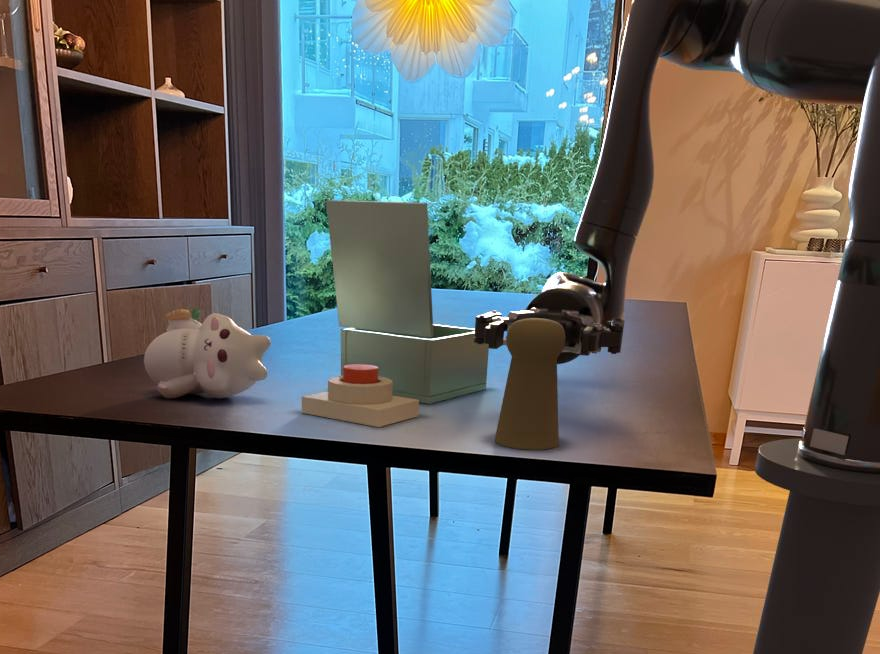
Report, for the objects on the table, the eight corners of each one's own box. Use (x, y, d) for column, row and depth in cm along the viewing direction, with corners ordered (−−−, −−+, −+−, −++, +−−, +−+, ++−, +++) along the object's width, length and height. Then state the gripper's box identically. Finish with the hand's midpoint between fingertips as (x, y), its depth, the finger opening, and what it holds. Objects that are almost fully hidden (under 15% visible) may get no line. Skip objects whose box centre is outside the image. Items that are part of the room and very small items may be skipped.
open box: (401, 376, 115) (403, 320, 112) (486, 389, 109) (490, 330, 106) (340, 389, 106) (340, 329, 103) (429, 404, 99) (432, 340, 97)
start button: (384, 384, 92) (385, 366, 92) (363, 388, 90) (364, 370, 89) (357, 380, 94) (357, 362, 94) (335, 384, 92) (335, 366, 91)
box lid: (329, 199, 96) (325, 200, 95) (427, 202, 89) (424, 203, 89) (342, 325, 103) (338, 326, 103) (433, 336, 97) (430, 337, 96)
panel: (418, 416, 93) (419, 382, 92) (379, 427, 88) (379, 391, 87) (343, 403, 99) (343, 370, 97) (301, 412, 93) (301, 378, 92)
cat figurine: (131, 302, 97) (257, 293, 92) (171, 336, 105) (289, 328, 100) (122, 387, 96) (248, 381, 91) (162, 414, 104) (281, 410, 99)
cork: (566, 439, 86) (579, 318, 81) (549, 452, 81) (562, 324, 76) (506, 431, 88) (515, 313, 83) (485, 444, 83) (494, 319, 78)
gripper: (500, 281, 96) (465, 292, 82) (635, 288, 92) (623, 301, 78) (494, 354, 99) (460, 376, 85) (625, 363, 96) (612, 388, 82)
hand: (538, 340), depth 82 cm, fingers open, 8 cm apart
